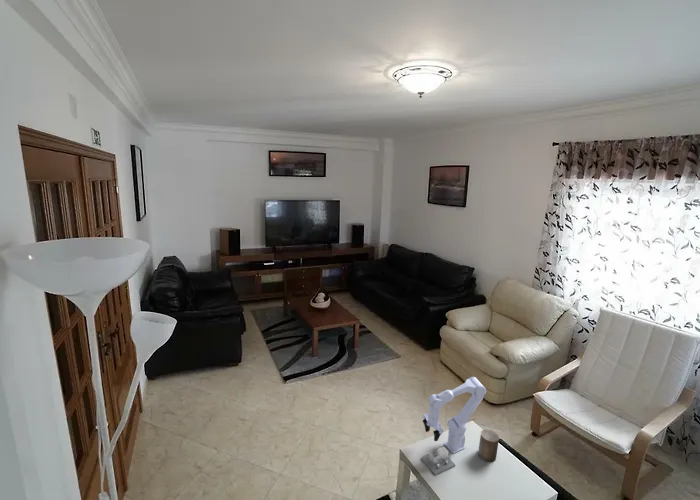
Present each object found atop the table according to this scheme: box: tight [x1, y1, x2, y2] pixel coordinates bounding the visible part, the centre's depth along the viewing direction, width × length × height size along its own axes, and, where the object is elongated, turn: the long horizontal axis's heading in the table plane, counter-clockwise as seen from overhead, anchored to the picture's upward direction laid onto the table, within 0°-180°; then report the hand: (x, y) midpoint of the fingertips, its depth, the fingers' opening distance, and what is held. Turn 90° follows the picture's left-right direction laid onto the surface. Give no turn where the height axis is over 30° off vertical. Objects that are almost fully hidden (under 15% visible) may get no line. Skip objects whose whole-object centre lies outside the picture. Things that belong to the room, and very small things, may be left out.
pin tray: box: [420, 453, 456, 476], centre depth 193 cm, size 14×12×3 cm
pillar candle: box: [477, 428, 500, 463], centre depth 198 cm, size 10×10×15 cm
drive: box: [428, 445, 450, 467], centre depth 193 cm, size 10×4×6 cm, turn 117°
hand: (431, 435), depth 200 cm, fingers open, 7 cm apart
